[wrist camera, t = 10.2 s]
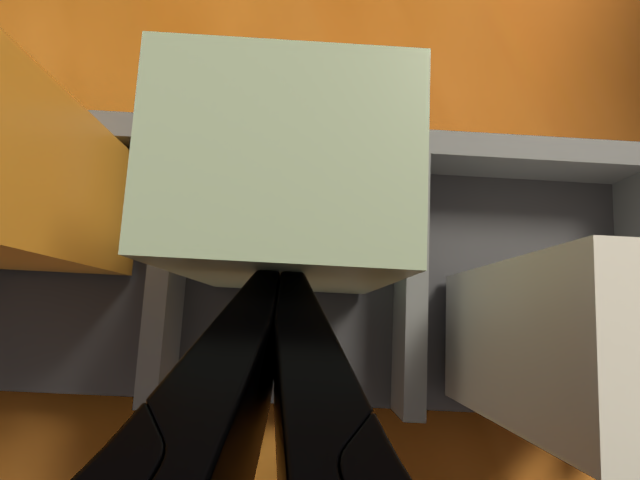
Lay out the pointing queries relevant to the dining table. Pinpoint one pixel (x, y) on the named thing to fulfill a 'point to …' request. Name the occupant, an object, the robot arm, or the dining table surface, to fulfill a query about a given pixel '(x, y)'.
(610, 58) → the dining table surface
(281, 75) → the pale green tall block
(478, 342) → the white rectangular block
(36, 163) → the orange block
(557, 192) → the grey divided tray
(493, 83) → the dining table surface
